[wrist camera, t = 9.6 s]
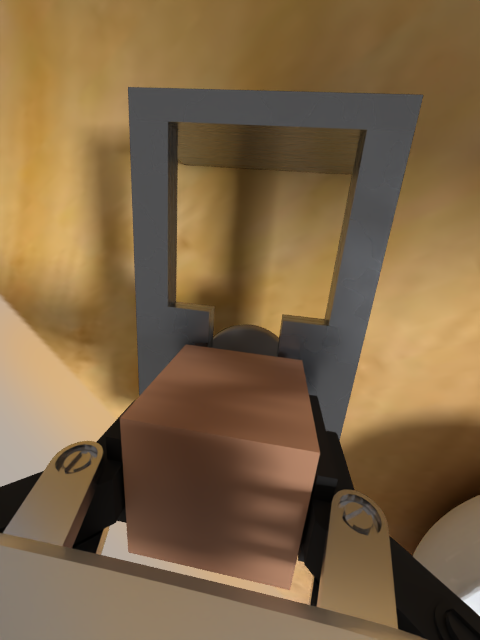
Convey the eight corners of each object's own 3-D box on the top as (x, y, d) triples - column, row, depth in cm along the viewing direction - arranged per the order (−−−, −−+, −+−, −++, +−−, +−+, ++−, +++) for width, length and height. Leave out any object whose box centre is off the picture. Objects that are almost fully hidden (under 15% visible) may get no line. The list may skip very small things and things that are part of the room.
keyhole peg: (298, 330, 14) (325, 450, 6) (285, 412, 16) (292, 592, 8) (205, 319, 15) (115, 413, 7) (201, 398, 16) (125, 553, 8)
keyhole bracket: (184, 145, 15) (128, 87, 9) (364, 154, 14) (423, 94, 8) (180, 409, 20) (142, 474, 15) (309, 430, 19) (322, 509, 14)
